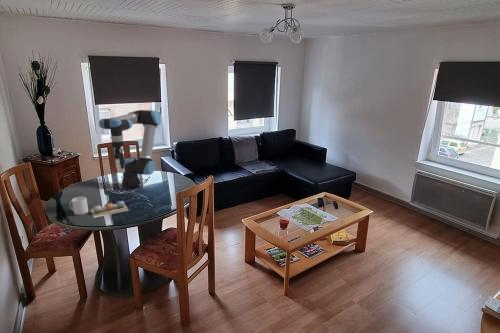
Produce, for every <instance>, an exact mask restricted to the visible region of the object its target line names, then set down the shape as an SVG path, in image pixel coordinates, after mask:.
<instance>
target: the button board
mask: <svg viewBox="0 0 500 333" xmlns="http://www.w3.org/2000/svg"><path fill="white" fill-rule="evenodd" d="M127 211H130V209H129V208H128V206H127V205H126V204H125V205H124V206H123V207H122V208H119V207H118V206H117V203H113V208H112V209H111V210H108V209H106V207H105V206H101V211H100V212H99V213H96V212H94V210H93V208H92V209H90V212H91V214H92V216H93V219H96V218H100V217H101V218H102V217H105V216H109V215H113V214H118V213H123V212H127Z"/></svg>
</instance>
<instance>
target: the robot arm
mask: <svg viewBox="0 0 500 333" xmlns="http://www.w3.org/2000/svg"><path fill="white" fill-rule="evenodd" d="M161 123H162V118H161V114H160V112H159V111H157V110H143V109H139V110H135V111H134V110H133V111H130V112H128V113H126V114H123V115H120V116H114V117H111V118H100V119H99V122H98V126H99V127H100V129H103V130H109V131H110V137H109V138H110V140H111V147H112V148H114V150H113V152H114V154H113V156H114V159H115V168H116V169H119V170H120V171H119V172H120V174H122V181H121V186H122V188H126V189H127V188H129V189H131V188H136V187H139V186H140V185H141V184H142V182H141V180H140V177H139V175H144V176H148V175H149V176H150V175H153V173H154V172H155V169H156V162H155V161H154V158H153V157H152V156H153V148H154V142H155V134H156V129H157V128H158V126H160V125H161ZM134 124H137V125H140V124H141V125H142V126H143V128H144V129H143V136H142V144H141V145H142V146H141V152H140V156H139V157H138V159H137V157H135V156H134V157H133V156H132V157H126V158H125V157H124V154H123V153H124V151H123V149H122V147H124V146H125V145H124V135H123V132H124V131H129V129H131V128H132V127H133V125H134Z"/></svg>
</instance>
